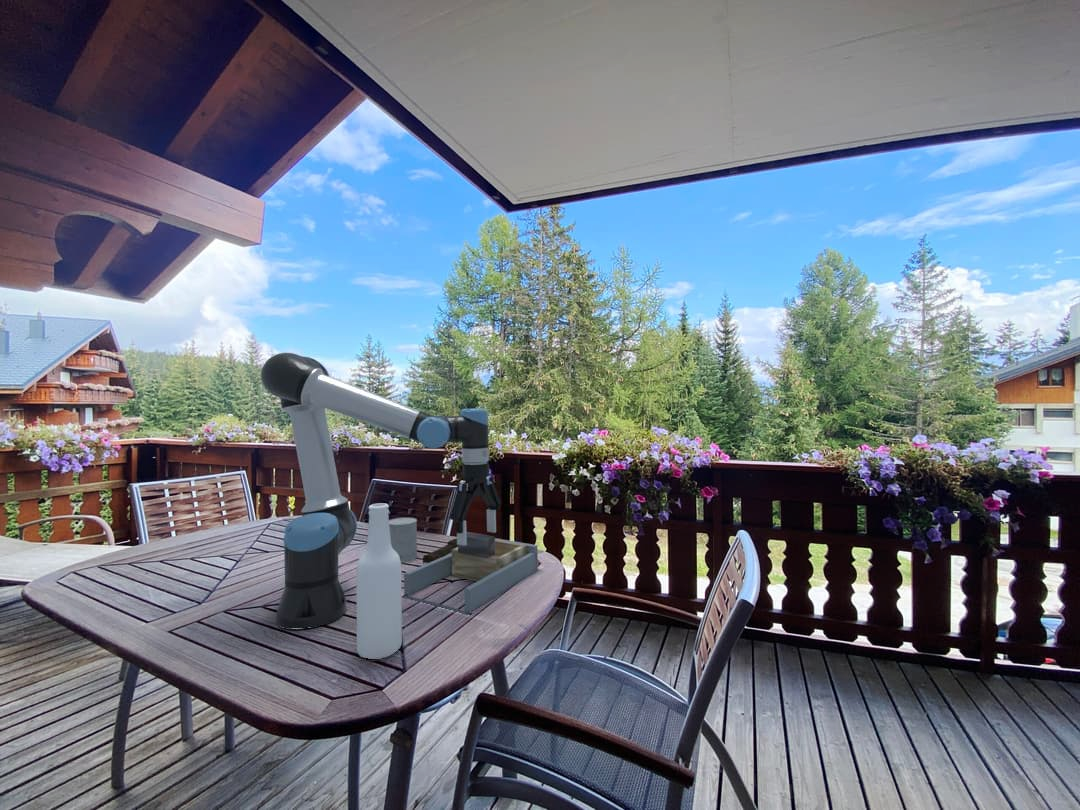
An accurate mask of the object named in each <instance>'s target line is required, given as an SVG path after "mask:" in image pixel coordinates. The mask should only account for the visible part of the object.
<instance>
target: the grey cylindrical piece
mask: <svg viewBox="0 0 1080 810" xmlns="http://www.w3.org/2000/svg"><path fill="white" fill-rule="evenodd" d="M417 523H418V520H417V518H415V517H396V518H392V519H389V528H390V539H391V545H392V548H393V549H394V550H395V551H396V552H397V554H398V555H399V557H400V561H401V562H402V563H408V562H411V560H412V561H414V560H416V559H417V558H418V545H417V544H418V534H417V530H418V529H417V527H418V526H417ZM415 558H416V559H415Z"/></svg>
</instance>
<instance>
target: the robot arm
mask: <svg viewBox="0 0 1080 810" xmlns="http://www.w3.org/2000/svg"><path fill="white" fill-rule="evenodd" d="M260 380H261V382H262V385H263V387H264V388H265V389H266V391H267V392H268V393H269V394H271V395H272V396H275V397H276V398H279V401H280V405H281V409H282V411H284V413H286V414H288V415H289V418H290V423H291V424H290V425H291V427H292V434H293V439H294V444H295V449H296V454H297V459H298V465H299V470H300V476H301V481H302V487H303V492H304V497H305V501H306V502H305V505H304V506H303V507H302V509H301V511H300V512H301V515H302V516H297V517H295V518H293V519H292V520H290V521H289V522H288V523H286V526H285V528H284V536H283V544H284V545H283V546H284V547H283V548H284V550H283V551H284V552H283V554H284V555H283V556H284V588H283V593H282V595H281V598H280V600H279V603H278V608H277V611H276V614H275V615H276V616H275V617H276V618H275V619H276V622H275V623H276V625H277V624H278V625H279V626H281V627H284V628H308V627H315V626H319V627H321V626H320V625H322V626H325V625H327V624H331V623H332V622H334V621H336V620H338V619H340V618H341V617H342V616H344V614H346V612H347V598H346V596H345V593H344V590H343V588H342V586H341V582H340V580H339V579H340V578H339V555H340V554H341V553H342V552H343V550H345V549H346V548H347V547H348V546H349V545H350V544H351V542H352V541H353V539H354V538H355V535H356V533H357V530H358V521H357V517H356V515H355V514H354V511H352V510H351V509H350V505H349V500H348V498H347V497H345V496H344V495H342V494H341V488H340V484H339V478H338V472H337V467H336V462H335V456H334V450H333V446H332V440H331V436H330V430H329V425H328V419H327V414H326V409H327V410H329V411H333V412H335V413H338V414H341V415H344V416H346V417H349V418H352V419H355V420H358V421H360V422H363V423H365V424H369V425H371V426H374V427H377V428H380V429H382V430H385V431H388V432H390V433H393V434H396V435H399V436H401V437H404V438H407V439H410V440H412V441H414V442H417V443H419V444H420V445H422V446H423V447H425V448H429V449H438V448H440V447H442V446H444V445H445V444H451V443H456V444H457V443H461V461H462V462H463V464H462V468H461V469H462V471H461V472H462V477H463V478H464V479H465V482H464V483H463V482H462V483H461V482H458V483H457V484H456V493H455V497H454V500H453V504H452V507H451V512H450V515H449V520H452V521H454V522H455V533H456V538H457V544H459V545H467V536H466V532H467V520H465V518H466V516H467V514H468V511H469V509H470V507H471V504H472V502H473V500H475V499H476V498H477V497H479V496H480V497H481V499H482V500H483V501H484V503H485V505H486V507H487V508H488V509H486V531H487V532H488V533H493V534H495V533H496V532H497V510H500V506H501V505H502V503H501V500H500V497H499V494H498V491H497V489H496V485H495V480H494V479H495V478H494V476H490V464H489V463H488V462H489V460H490V457H489V452H490V450H489V449H490V448H489V445H490V444H489V442H490V441H489V415H488V413H489V412H488V411H487V409H486V408H482V407H481V408H479V407H478V408H462V409H461V412H460V415H439V416H436V415H432V414H431V413H427V412H425V411H422V410H419V409H416V408H413V407H411V406H409V405H406V404H403V403H400V402H398V401H395V400H393V399H391V398H387V397H385V396H382V395H380V394H377V393H374V392H371V391H368V390H366V389H364V388H361V387H359V386H356V385H353V384H350V383H348V382H345V381H343V380H340V379H337V378H335V377H332V376H330V374H329V371H328V370H327V368H326V367H325V366H324V365H323V364H322V363H320V361H318V360H317V359H315V358H312V357H308V356H303V355H299V354H297V353H294V352H293V353H292V352H280V353H277V354H274V355H273V356H271V357H270V358H268V359H267V360H266V362H264V363H263V365H262V369H261V372H260ZM324 624H325V625H324ZM278 625H277V626H278ZM279 626H278V627H279ZM281 627H280V628H281ZM284 628H283V629H284ZM315 628H316V627H315Z"/></svg>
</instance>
